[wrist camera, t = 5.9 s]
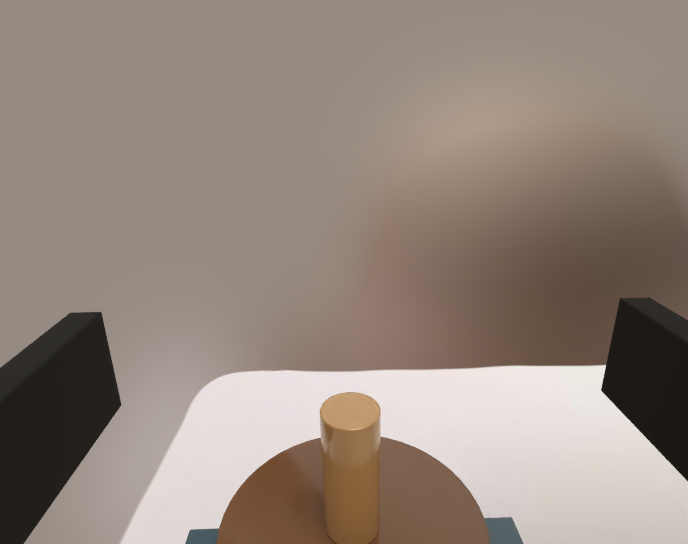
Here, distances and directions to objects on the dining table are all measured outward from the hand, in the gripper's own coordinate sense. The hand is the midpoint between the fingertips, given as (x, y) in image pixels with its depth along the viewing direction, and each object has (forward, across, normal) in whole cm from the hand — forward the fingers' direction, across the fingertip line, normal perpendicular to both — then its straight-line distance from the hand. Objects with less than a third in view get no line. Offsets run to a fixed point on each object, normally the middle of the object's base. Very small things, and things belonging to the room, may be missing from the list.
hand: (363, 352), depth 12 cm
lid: (+10, 0, -18) cm, 20 cm away
